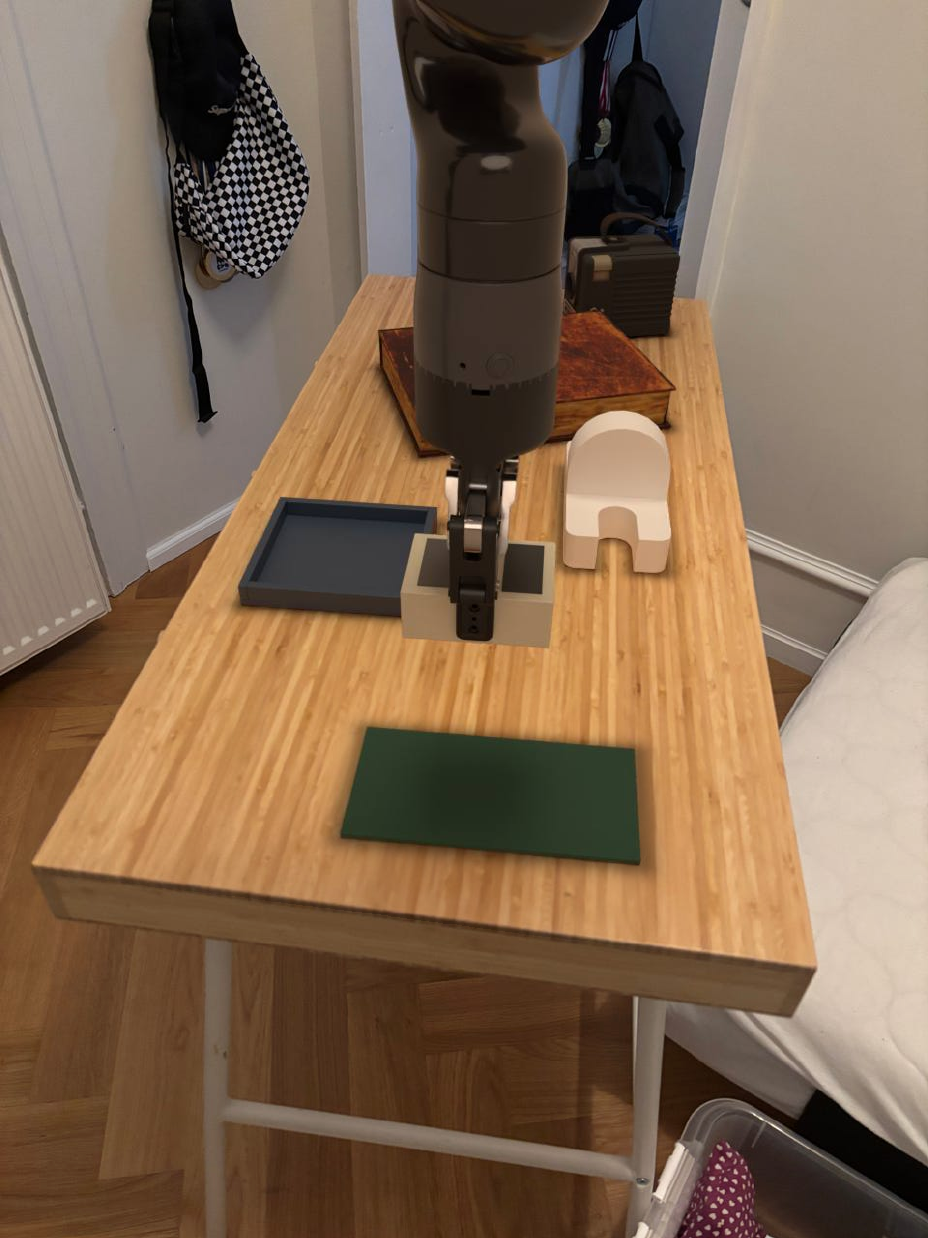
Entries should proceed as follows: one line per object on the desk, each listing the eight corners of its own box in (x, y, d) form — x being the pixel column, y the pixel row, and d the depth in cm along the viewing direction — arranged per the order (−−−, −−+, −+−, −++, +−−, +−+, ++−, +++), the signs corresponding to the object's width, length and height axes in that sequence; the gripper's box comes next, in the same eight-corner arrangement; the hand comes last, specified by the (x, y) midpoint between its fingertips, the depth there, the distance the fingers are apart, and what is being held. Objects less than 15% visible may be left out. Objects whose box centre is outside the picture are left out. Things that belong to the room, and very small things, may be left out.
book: (596, 345, 126) (600, 309, 123) (670, 428, 108) (676, 388, 105) (379, 366, 120) (377, 329, 117) (419, 457, 102) (418, 416, 99)
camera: (554, 313, 135) (562, 203, 126) (645, 307, 137) (660, 199, 128) (575, 343, 127) (585, 228, 117) (672, 336, 129) (690, 223, 119)
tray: (240, 604, 82) (237, 585, 81) (282, 514, 93) (280, 496, 92) (416, 617, 81) (416, 598, 80) (437, 524, 92) (437, 506, 91)
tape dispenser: (653, 474, 100) (669, 380, 94) (666, 573, 86) (685, 472, 80) (564, 468, 101) (572, 375, 94) (562, 567, 87) (572, 465, 80)
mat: (340, 837, 63) (340, 833, 63) (367, 730, 71) (367, 726, 70) (639, 864, 62) (640, 861, 61) (634, 752, 69) (634, 748, 69)
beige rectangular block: (402, 638, 57) (400, 589, 55) (415, 577, 62) (414, 530, 60) (549, 649, 57) (554, 600, 54) (551, 586, 61) (556, 539, 59)
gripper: (431, 292, 54) (433, 534, 65) (393, 406, 43) (403, 675, 53) (562, 299, 53) (542, 541, 64) (557, 415, 42) (534, 685, 53)
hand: (479, 601), depth 59 cm, fingers closed on beige rectangular block, 6 cm apart
